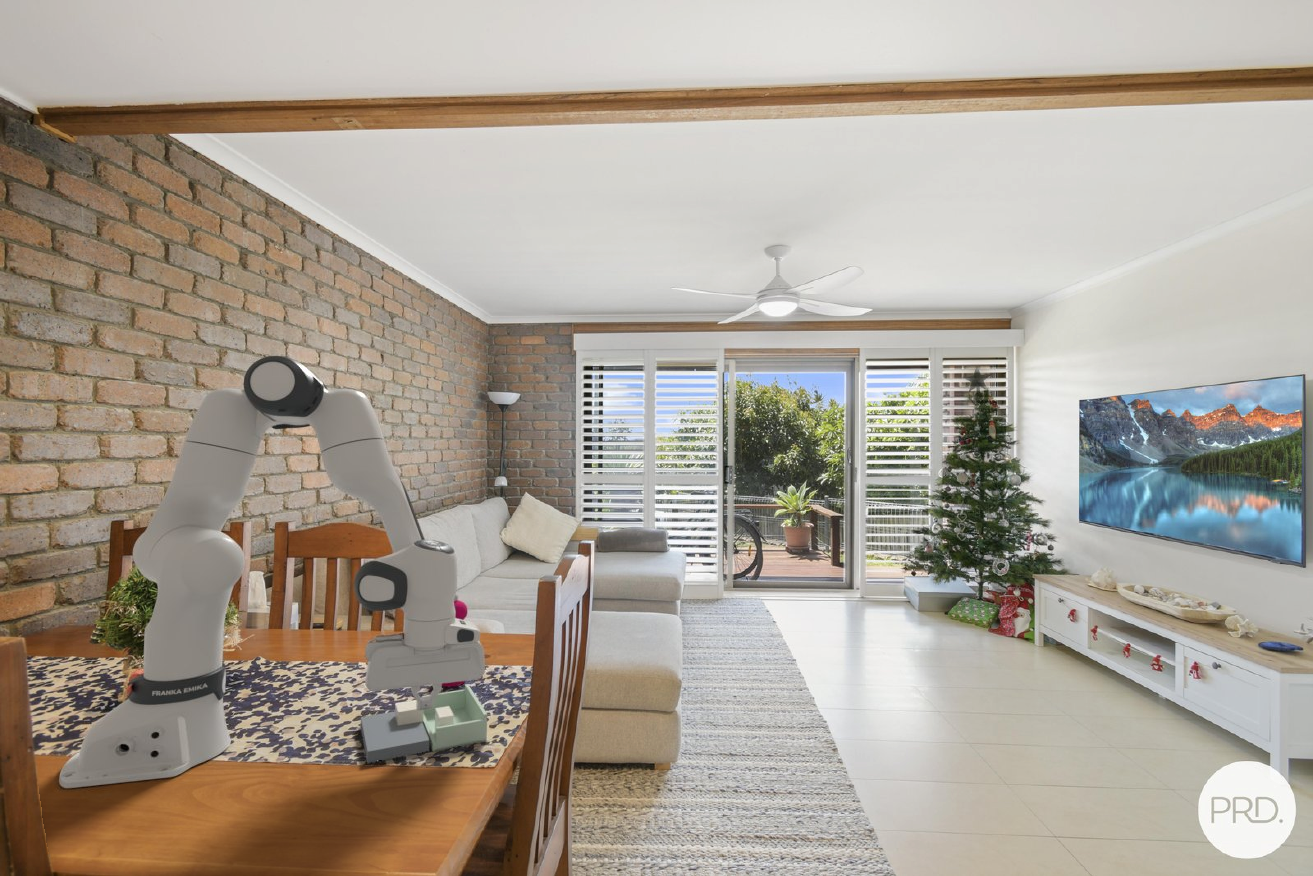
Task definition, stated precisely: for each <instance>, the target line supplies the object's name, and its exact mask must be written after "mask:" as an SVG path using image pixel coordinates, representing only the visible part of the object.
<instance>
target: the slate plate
mask: <svg viewBox="0 0 1313 876" xmlns="http://www.w3.org/2000/svg"><path fill="white" fill-rule="evenodd" d="M360 732H362V733H361V737H363V738H362V744H363V748H364V753H365V758H366V762H367V764H372V763H376V762H375V761H377V760H382V761H387V760H391V759H397V758H396V757H398V758H402V757H401V756H403V757H407V756H406V755H408V756H413V755H417V753H418V754H422V752H423V753H427V752H426V751H428V752H430V744H429V738H428V735H427V733H426V730H425V728H424V725H423V723H422V722H416V723H410V724H405V725H399V726H398V725H397V722H396V718H395V711H390V712H385V713H384V712H383V713H377V714H371V715H370V714H369V715H364V716H361V717H360ZM371 762H372V763H371ZM377 762H378V761H377Z"/></svg>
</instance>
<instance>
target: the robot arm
mask: <svg viewBox="0 0 1313 876" xmlns="http://www.w3.org/2000/svg"><path fill="white" fill-rule="evenodd" d="M242 385H243V389H239V388H234V387H223V388H216V389H214V390H212V391H210V392H209V393H207V395H206V396H205V397H204V399H202V402H201V404H200V405H199V407H198V409H197V411H196V413H195V414H194V416H193V419H192V421H191V423H190V426H189V428H188V431H187V433H186V436H185V439H184V441H183V444H182V448H181V450H180V454H179V457H178V460H177V463H176V466H175V469H174V471H173V475H172V479H171V481H170V483H169V485H168V487H167V490H166V492H165V494H164V496H163V497H162V500H161V501H160V503H159V505H158V507H157V509H156V510H155V512H154V513H153V516H151V517H152V518H151V519H150V522H149V523H148V525H147V527H146V529H145V530H144V532H143V533H141V535H139V537H138V538H137V539H136V541H135V543H134V545H133V548H132V558H133V562H134V564H135V566H136V568H137V569H138V571H139V572H140V574H141V575H142V576H143V577H144V578H146V579H147V580H149V581H150V582H154V583H155V584H156V586H157V595H156V600H155V605H154V608H153V612H152V614H151V618H150V620H149V622H148V623H147V624H146V626H145V628H144V638H143V639H144V640H143V641H144V642H143V643H144V644H143V645H144V646H143V670H142V669H138V670H135V671H133V672H132V673H131V674H130V676H129V678H128V682H127V688H126V696H127V699H125V700H124V701H123V702H122V703H120V704H119V705H117V706H116V707H114V708H113V709H112V710H111V711H108V713H106V714H105V715H104V716H102V717H101V718H99V719H98V720H97V721H95V723H94V724H93V725H92V726H91V727H90V728H89V730H88V731H87V732H86V734H85V735H84V736H85V737H84V738H83V741H82V744H81V747H80V750H79V751H78V752H77V753H75V754H74V755H72V757H70V758H69V759H68V760H67V761H66V763H65V764H64V765H63V767H62V768H61V770H60V773H59V779H58V782H59V785H60V786H61V787H62V788H64V789H73V788H82V787H84V788H85V787H91V786H92V787H93V786H100V785H111V784H120V783H129V782H139V781H145V780H146V781H147V780H155V779H156V780H157V779H166V778H173V777H176V776H179V775H181V774H182V773H184V772H186V771H187V770H189V769H191V768H192V767H194V766H197V765H199V764H201V763H204V762H206V761H208V760H211V759H213V758H214V757H217V756H218V755H220V754H221V753H223V752H224V751H225V750H226V749H228V747H230V745H231V742H232V738H231V736H230V734H229V733H230V732H229V730H228V726H227V723H226V716H225V710H224V709H225V708H224V696H225V693H226V681H227V679H226V678H227V671H226V663H225V662H224V661H223V657H224V656H223V654H224V634H225V633H224V632H225V631H224V630H225V621H226V616H227V615H226V614H227V610H228V606H229V602H230V601H231V596H232V594H233V593H232V592H233V589H234V586H235V584H236V583H237V582H238V581H239V580H240V578H241V577H242V575H243V573H244V570H245V566H246V557H245V554H244V551H243V548H242V547H241V546H240V545H239V544H238V542H236V541H235V540H234V539H233V538H231V537H230V536H229V535H228V534H226V533H224V532H222V530H223V527H224V526H225V524H226V523H227V520H228V518H230V515H231V514H232V512H233V511H234V510H235V508H236V506H238V505H239V504H240V503H242V501H243V499H244V498H245V496H246V492H247V489H248V486H249V483H250V479H251V477H252V473H253V470H254V467H255V462H256V459H257V456H258V452H259V448H260V444H261V442H262V439H263V437H264V435H265V433H266V432H267V431H268V430H269V429H270V428H272V429H274V430H282V429H283V430H284V429H286V430H287V429H301V428H309V427H311V428H312V429H313V431H314V433H315V435H316V439H317V441H318V446H319V451H320V454H321V458H322V463H323V467H324V470H325V472H326V475H327V477H328V479H329V480H330V481H329V482H331V484H332V485H333V486H334V487H335V488H336V489H337V490H339V491H340V492H342V493H344V494H346V495H348V496H351V497H353V498H356V499H358V500H360V501H362V502H365V503H366V504H368V505H369V506H371V507H372V508H373V510H375V512H376V513H377V514H378V516H379V517H380V520H381V521H382V524H383V528H384V530H385V533H386V536H387V537H388V538H387V539H388V542H389V543H390V546H391V549H392V553H391V554H388V555H385V556H381V557H377V558H373V559H371V560H370V561H367V562H365V563H364V564H362V565H361V566H360V567H359V569H358V570H357V572H356V574H355V577H354V579H353V590H354V591H353V592H354V595H355V597H356V599H357V601H358V602H359V604H360V605H361V606H362V607H363V608H364V609H367V610H368V611H372V612H386V611H393V610H401V611H403V630H402V633H393V634H386V635H384V634H380V635H379V634H378V635H375V637H373V638H372V639H369V641H368V642H367V643H366V645H365V658H366V660H367V661H368V662H367V666H366V667H367V668H366V673H365V686H366V688H367V689H368V690H369V692H378V691H379V692H380V691H386V690H387V691H388V690H395V689H397V690H398V689H403V688H405V689H406V688H410V691H411V694H412V695H413V698H414V700H416V709H417V710H424V709H432V708H434V701H435V699H436V697H437V696H438V694H439V693H441V690H442V687H443V686H442V683H450V682H459V681H465V682H467V681H474V680H480V679H481V678H482V677H483V676H484V674H485V673H486V660H485V649H484V647H483V645H482V643H481V642H480V639H481V631H480V629H479V627H478V626H477V625H476V624H475V623H474V622H473V621H470V620H465V619H464V620H461V619H457V618H455V614H456V612H455V607H454V598H455V595H456V594H457V590H458V561H457V554H456V551H455V549H454V548H453V547H452V546H450V545H449V544H448V543H446V542H443V541H441V540H435V539H434V540H433V539H432V540H431V539H425V536H424V533H423V531H422V529H421V526H420V523H419V520H418V517H417V514H416V512H415V509H414V507H413V504H412V501H411V499H410V496H409V493H408V491H407V489H406V486H405V484H404V482H403V481H402V479H401V478H400V476H399V475H398V473H397V471H396V470H395V467H394V465H393V462H392V460H391V456H390V454H389V451H388V449H387V445H386V441H385V437H384V434H383V431H382V427H381V424H380V421H379V418H378V416H377V414H376V411H375V410H374V407H373V406H372V404H371V401H370V400H369V398H368V396H367V395H366V394H364V393H363V392H361V391H359V390H355V389H351V388H340V389H334V390H333V389H332V390H331V389H328V388H327V386H326V385H325V383H324V382H323V381H322V380H321V379H320V377H319V376H318V375H317V374H316V373H314V371H312V370H311V369H309V368H308V367H306V366H305V365H304V364H302V363H301V362H299V361H297V360H296V359H294V358H291V357H288V356H283V355H269V356H264V357H262V358H260V359H258V360H256V361H255V362H253V363H252V364H251V365H250V366H249V367H248V368H247V370H246V372H245V374H244V377H243V384H242ZM424 686H432V691H431V693H430V694H429V695H430V696H427V697H422V696H420V694H419V692H421V687H424Z"/></svg>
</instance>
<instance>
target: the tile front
mask: <svg viewBox="0 0 1313 876" xmlns="http://www.w3.org/2000/svg"><path fill="white" fill-rule="evenodd" d="M452 724H454V715H453V713H452V711H451V709H450V707H449V706H446V707H440V708H435V735H436V727H441V726H446V725H452Z"/></svg>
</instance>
